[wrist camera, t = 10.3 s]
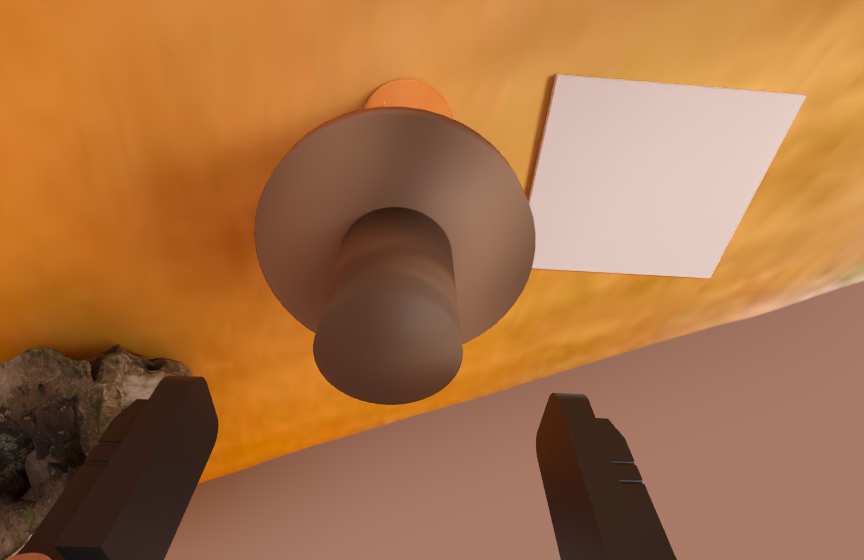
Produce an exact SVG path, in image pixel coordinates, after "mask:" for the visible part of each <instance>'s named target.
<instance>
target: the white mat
mask: <svg viewBox="0 0 864 560" xmlns="http://www.w3.org/2000/svg"><path fill="white" fill-rule="evenodd" d="M805 98H806V96H805V95H802V94H794V93H782V92H770V91H758V90H746V89H734V88H722V87H710V86H698V85H686V84H674V83H662V82H650V81H638V80H626V79H614V78H602V77H590V76H578V75H566V74H556V75H555V80H554V84H553V89H552V93H551V98H550V102H549V107H548V112H547V116H546V121H545V125H544V130H543V135H542V139H541V144H540V148H539V153H538V157H537V162H536V167H535V171H534V176H533V180H532V185H531V190H530V194H529V199H528V202H529V205H530V208H531V211H532V215H533V219H534V226H535V233H536V238H535V255H534V261H533V266H532V268H536V269H554V270H571V271H589V272H607V273H625V274H643V275H661V276H678V277H696V278H710V277H711V276H712V274H713V272H714V270H715V268H716V266H717V264H718V262H719V260H720V259H721V257H722V255H723V253H724V251H725V249H726V247H727V245H728V243H729V241H730V240H731V238H732V236H733V234H734V232H735V230H736V228H737V226H738V224H739V223H740V221H741V219H742V217H743V215H744V213H745V211H746V209H747V207H748V206H749V204H750V202H751V200H752V198H753V196H754V194H755V192H756V190H757V188H758V187H759V185H760V183H761V181H762V179H763V177H764V175H765V173H766V171H767V170H768V168H769V166H770V164H771V162H772V160H773V158H774V156H775V154H776V152H777V151H778V149H779V147H780V145H781V143H782V141H783V139H784V137H785V135H786V134H787V132H788V130H789V128H790V126H791V124H792V122H793V120H794V118H795V117H796V115H797V113H798V111H799V109H800V107H801V105H802V103H803V101H804V99H805Z"/></svg>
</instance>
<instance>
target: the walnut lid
mask: <svg viewBox="0 0 864 560" xmlns="http://www.w3.org/2000/svg"><path fill="white" fill-rule="evenodd" d="M254 236H255V246H256V252H257V256H258V260H259V264H260V267H261V270H262V272H263V274H264V277H265V279H266V281H267V283H268V285H269V286H270V288H271V290H272V292H273V293H274V295H275V296H276V297H277V299H278V300H279V301H280V303H281V304H282V305H283V307H284V308H285V309H286V310H287V311H288V312H289V313H290V314H291V315H292V316H293V317H294V318H295V319H297V320H298V321H299V322H300V323H302V324H303V325H304V326H305V327H306V328H308V329H310V330H311V331H313V332H314V333H316V335H315V338H314V344H313V353H314V358H315V362H316V364H317V367H318V369H319V370H320V372H321V374H322V375H323V376H324V377H325V379H326V380H327V381H328V382H329V383H330V384H331V385H333V386H334V387H335V388H337V389H338V390H340V391H341V392H343V393H345V394H347V395H349V396H351V397H353V398H356V399H359V400H362V401H366V402H369V403H375V404H385V405H397V404H406V403H412V402H416V401H419V400H422V399H425V398H427V397H430V396H432V395H434V394H436V393H437V392H439V391H440V390H442V389H443V388H444V387H446V386H447V385H448V384H449V383H450V382H451V381H452V379H453V378H454V377H455V375H456V374H457V372H458V370H459V368H460V366H461V362H462V356H463V349H462V344H464V343H466V342H468V341H470V340H472V339H474V338H476V337H477V336H479V335H481V334H482V333H484V332H485V331H487V330H488V329H489V328H491V327H492V326H493V325H495V324H496V323H497V322H498V321H499V320H500V319H501V318H502V317H503V316H504V315H505V314H506V313H507V312H508V311H509V310H510V308H511V307H512V306H513V305H514V303H515V302H516V300H517V299H518V297H519V296H520V294H521V293H522V291H523V289H524V287H525V285H526V283H527V281H528V278H529V275H530V272H531V269H532V266H533V261H534V255H535V238H536V233H535V226H534V219H533V215H532V211H531V208H530V205H529V202H528V199H527V197H526V195H525V193H524V191H523V188H522V186H521V184H520V182H519V180H518V178H517V176H516V174H515V172H514V171H513V169H512V168H511V166H510V165H509V163H508V162H507V161H506V159H505V158H504V157H503V156H502V155H501V154H500V152H499V151H498V150H497V149H496V148H495V147H494V146H493V145H492V144H491V143H490V142H488V141H487V140H486V139H485V138H483V137H482V136H481V135H480V134H479V133H477V132H475V131H474V130H472V129H470V128H469V127H467V126H466V125H464V124H462V123H460V122H458V121H456V120H453V119H451V118H449V117H446V116H444V115H441V114H438V113H434V112H430V111H427V110H423V109H416V108H409V107H375V108H368V109H361V110H357V111H354V112H350V113H347V114H343V115H341V116H338V117H336V118H334V119H332V120H329V121H327V122H325V123H323V124H321V125H320V126H318V127H317V128H315V129H314V130H312V131H310V132H309V133H308V134H306V135H305V136H304V137H303V138H302V139H301V140H299V141H298V142H297V143H296V144H295V145H294V146H293V147H292V148H291V149H290V151H289V152H288V153H287V154H286V155H285V157H284V158H283V159H282V160H281V162H280V163H279V164H278V166H277V167H276V168H275V170H274V171H273V173H272V175H271V176H270V178H269V180H268V181H267V183H266V185H265V187H264V190H263V192H262V195H261V197H260V200H259V203H258V208H257V212H256V217H255V232H254Z"/></svg>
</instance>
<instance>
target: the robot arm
mask: <svg viewBox="0 0 864 560" xmlns="http://www.w3.org/2000/svg"><path fill="white" fill-rule="evenodd" d="M217 434H218V418H217V415H216V411H215V408H214V405H213V402H212V398H211V395H210V392H209V389H208V385H207V382H206V380H205V379H204V378H203V377H192V376H165V377H164V378H163V379H162V380H161V381H160V382H159V384H158V385H157V387H156V388H155V390H154V391H153V393H152V394H151V396H150V398H149V399H136V400H135V401H134V402H133V403H132V404H130V405H129V406H128V407H127V408H125V409H124V410H123V411H122V412H121V413H119V414H118V415H117V416H116V417H114V418H113V420H112V421H111V423H110V424H109V426H108V427H107V429H106V430H105V431H104V433H103V434H102V436H101V437H100V439H99V440H98V444H97V446H96V445H95V446H94V447H93V449H92V450H91V452H90V453H89V454H88V456H87V457H86V459H85V463H84V465H81V466H80V467H79V469H78V470H77V472H76V473H75V475H74V476H73V478H72V479H71V480H70V482H69V483H68V485H67V486H66V488H65V489H64V490H63V492H62V493H61V495H60V496H59V498H58V499H57V501H56V502H55V503H54V505H53V506H52V508H51V509H50V511H49V512H48V514H47V515H46V516H45V518H44V519H43V521H42V522H41V524H40V525H39V526H38V528H37V529H36V531H35V532H34V534H33V535H32V537H31V538H30V539H29V541H28V542H27V543H26V545H25V546H24V547H23V548H22V549H21V550H20V551H19V552H18V554H17V555H15V556H13V557H10V558H8V559H5V560H164V558H165V556H166V554H167V552H168V549H169V547H170V545H171V543H172V540H173V538H174V535H175V533H176V531H177V529H178V527H179V524H180V522H181V520H182V518H183V515H184V513H185V511H186V508H187V506H188V504H189V502H190V500H191V497H192V495H193V493H194V490H195V488H196V486H197V484H198V482H199V479H200V477H201V475H202V472H203V470H204V468H205V466H206V463H207V461H208V459H209V457H210V454H211V452H212V450H213V448H214V445H215V442H216V439H217ZM536 451H537V458H538V463H539V467H540V472H541V476H542V480H543V485H544V489H545V493H546V497H547V502H548V506H549V511H550V515H551V519H552V523H553V527H554V532H555V537H556V540H557V545H558V549H559V554H560V558H561V560H677V559H676V557H675V555H674V553H673V550H672V548H671V545H670V543H669V541H668V538H667V536H666V534H665V531H664V529H663V527H662V524H661V522H660V520H659V518H658V515H657V513H656V510H655V508H654V506H653V503H652V501H651V499H650V496H649V494H648V492H647V489H646V487H645V485H644V484H643V483H642V478H641V475H640V473H639V471H638V468H637V466H636V465H634V459H633V457H632V454H631V452H630V450H629V447H628V445H627V443H626V440H625V438H624V437H623V436H622V435H621V434H620V432H619V431H618V430H617V429H616V428H615V427H614V425H613V424H612V423H611V422H610V421H609V420H608V419H602V418H595V415H594V413H593V410H592V408H591V405H590V402H589V400H588V398H587V397H586V396H585V395H584V394H564V393H552V394H551V395H550V397H549V399H548V402H547V405H546V408H545V411H544V414H543V417H542V420H541V423H540V426H539V428H538V432H537V437H536Z"/></svg>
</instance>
